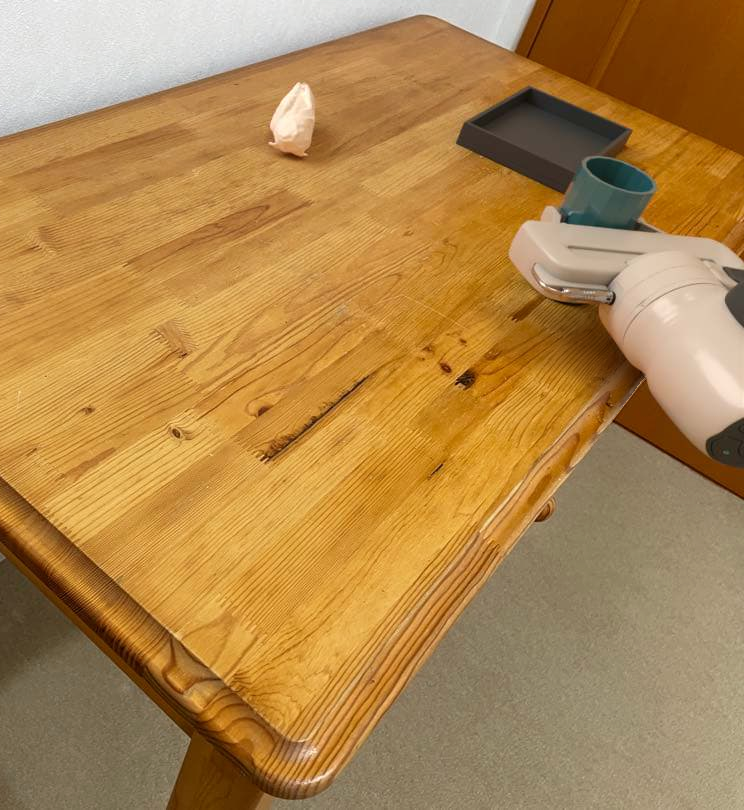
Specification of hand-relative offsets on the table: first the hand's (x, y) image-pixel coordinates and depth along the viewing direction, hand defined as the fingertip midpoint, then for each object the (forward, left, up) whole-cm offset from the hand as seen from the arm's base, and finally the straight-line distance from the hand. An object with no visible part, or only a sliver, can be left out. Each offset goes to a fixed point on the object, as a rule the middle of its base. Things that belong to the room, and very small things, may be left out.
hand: (589, 216), depth 80 cm
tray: (-12, -31, -7) cm, 34 cm away
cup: (0, +1, -7) cm, 7 cm away
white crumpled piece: (+23, -24, -8) cm, 34 cm away
